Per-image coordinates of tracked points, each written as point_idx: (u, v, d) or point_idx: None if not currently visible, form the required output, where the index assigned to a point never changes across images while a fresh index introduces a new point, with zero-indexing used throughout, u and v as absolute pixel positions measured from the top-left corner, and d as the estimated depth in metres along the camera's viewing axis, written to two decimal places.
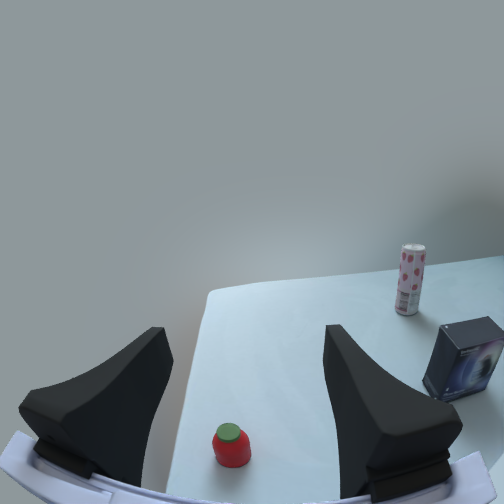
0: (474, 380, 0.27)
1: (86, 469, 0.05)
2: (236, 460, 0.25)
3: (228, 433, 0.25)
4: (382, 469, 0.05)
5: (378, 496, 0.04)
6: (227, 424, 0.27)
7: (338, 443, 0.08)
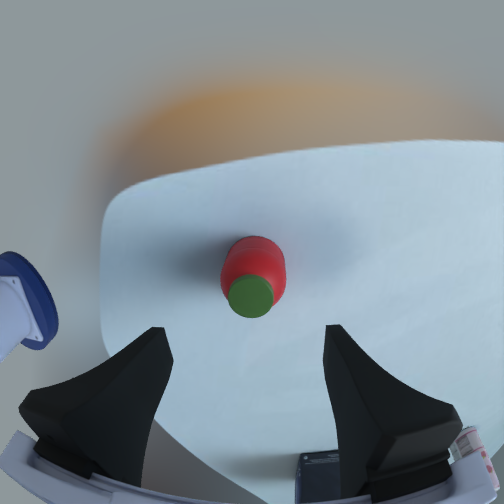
0: (295, 488, 0.29)
1: (86, 469, 0.05)
2: None
3: (244, 300, 0.16)
4: (382, 469, 0.05)
5: (378, 496, 0.04)
6: (268, 295, 0.16)
7: (338, 443, 0.08)
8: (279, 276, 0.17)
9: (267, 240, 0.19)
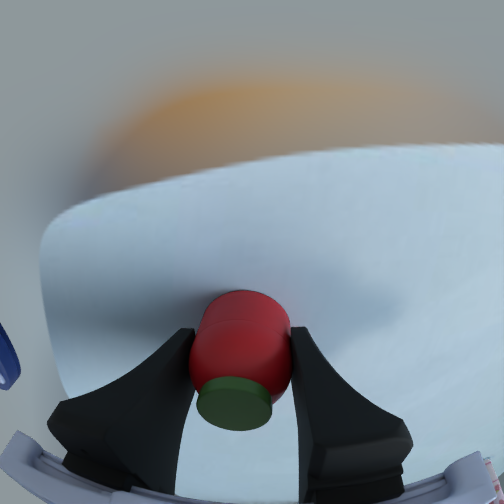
0: None
1: (126, 483, 0.05)
2: None
3: (224, 412, 0.09)
4: (324, 479, 0.05)
5: (378, 496, 0.04)
6: (264, 409, 0.08)
7: None
8: (282, 370, 0.09)
9: (264, 298, 0.12)
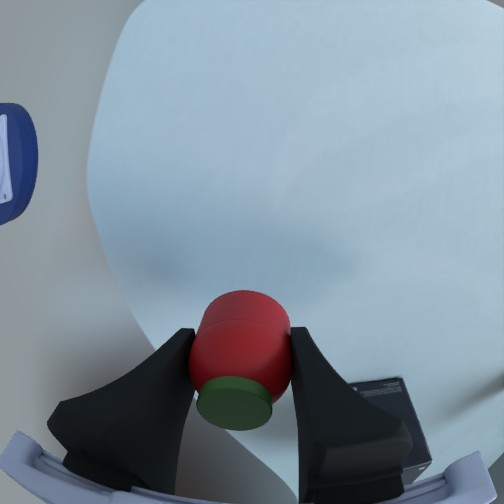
0: None
1: (126, 483, 0.05)
2: None
3: (224, 412, 0.09)
4: (324, 479, 0.05)
5: (378, 496, 0.04)
6: (263, 409, 0.08)
7: (298, 447, 0.08)
8: (282, 370, 0.09)
9: (264, 298, 0.12)
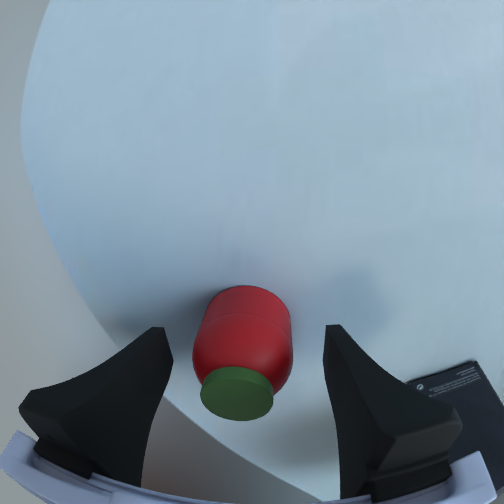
0: None
1: (86, 469, 0.05)
2: None
3: (227, 402, 0.09)
4: (382, 469, 0.05)
5: (378, 496, 0.04)
6: (265, 398, 0.09)
7: (338, 443, 0.08)
8: (283, 362, 0.10)
9: (265, 293, 0.13)
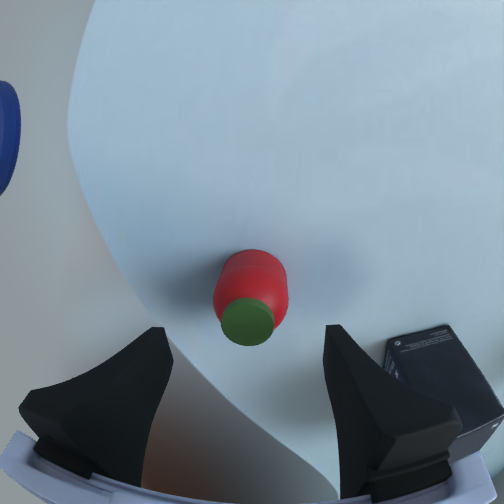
0: None
1: (86, 469, 0.05)
2: None
3: (240, 327, 0.13)
4: (382, 469, 0.05)
5: (378, 496, 0.04)
6: (268, 322, 0.13)
7: (338, 443, 0.08)
8: (280, 298, 0.14)
9: (267, 254, 0.17)
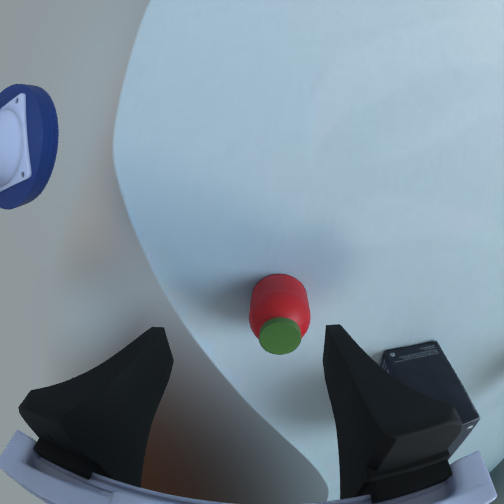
0: None
1: (86, 469, 0.05)
2: None
3: (274, 340, 0.17)
4: (382, 469, 0.05)
5: (378, 496, 0.04)
6: (297, 336, 0.17)
7: (338, 443, 0.08)
8: (306, 317, 0.18)
9: (293, 279, 0.20)
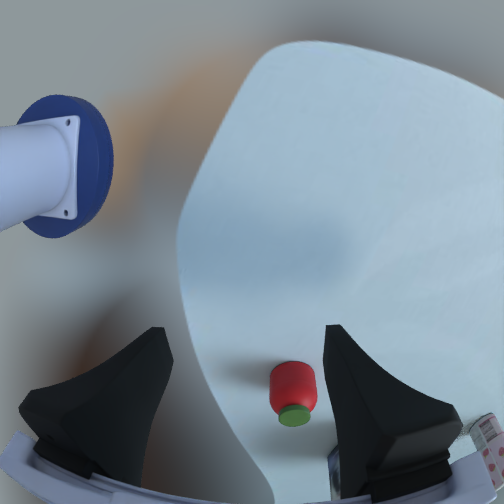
0: (339, 464, 0.26)
1: (86, 469, 0.05)
2: None
3: (290, 418, 0.20)
4: (382, 469, 0.05)
5: (378, 496, 0.04)
6: (307, 418, 0.20)
7: (338, 443, 0.08)
8: (314, 403, 0.21)
9: (309, 368, 0.24)
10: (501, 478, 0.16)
